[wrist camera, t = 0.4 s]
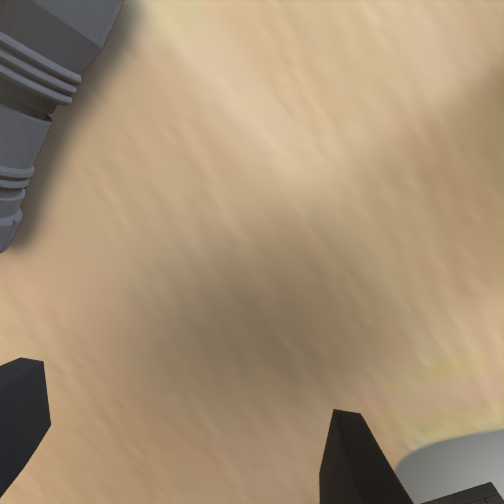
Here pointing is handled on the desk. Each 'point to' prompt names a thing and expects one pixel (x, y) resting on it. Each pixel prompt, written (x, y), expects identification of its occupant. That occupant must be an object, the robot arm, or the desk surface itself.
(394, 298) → the desk surface
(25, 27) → the flashlight
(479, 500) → the cabinet
